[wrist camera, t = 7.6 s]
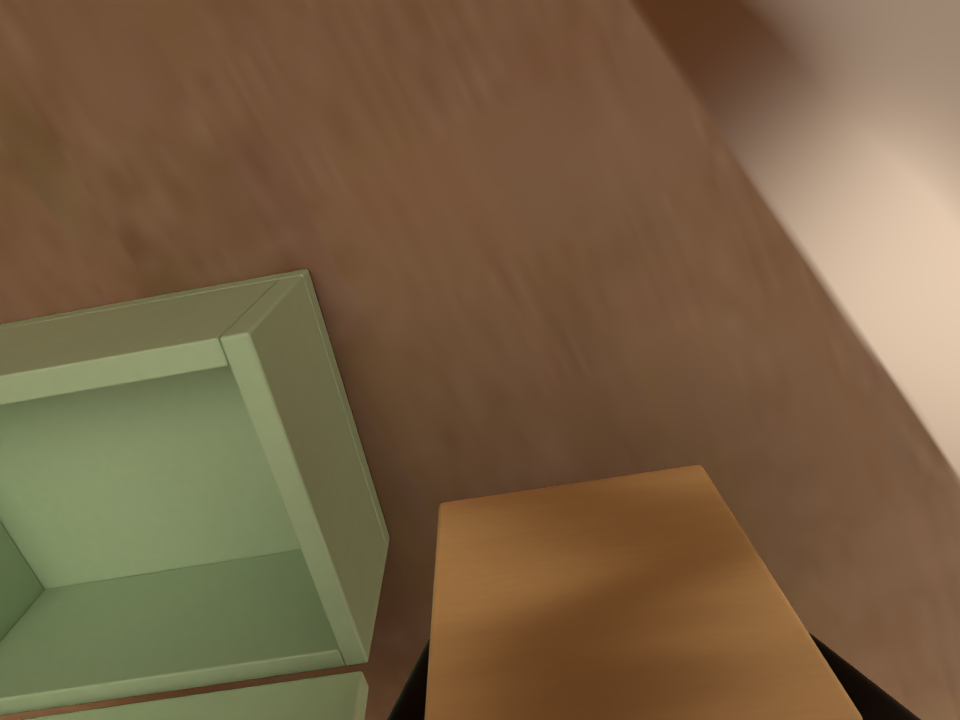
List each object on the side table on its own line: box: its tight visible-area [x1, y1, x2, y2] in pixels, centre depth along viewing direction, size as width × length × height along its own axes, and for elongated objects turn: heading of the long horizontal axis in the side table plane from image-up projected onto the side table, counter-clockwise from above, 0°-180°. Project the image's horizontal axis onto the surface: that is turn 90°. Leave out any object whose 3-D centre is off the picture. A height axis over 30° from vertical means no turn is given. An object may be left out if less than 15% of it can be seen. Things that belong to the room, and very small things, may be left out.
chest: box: [0, 269, 390, 715], centre depth 18 cm, size 10×13×5 cm
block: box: [424, 465, 863, 720], centre depth 8 cm, size 4×4×4 cm
